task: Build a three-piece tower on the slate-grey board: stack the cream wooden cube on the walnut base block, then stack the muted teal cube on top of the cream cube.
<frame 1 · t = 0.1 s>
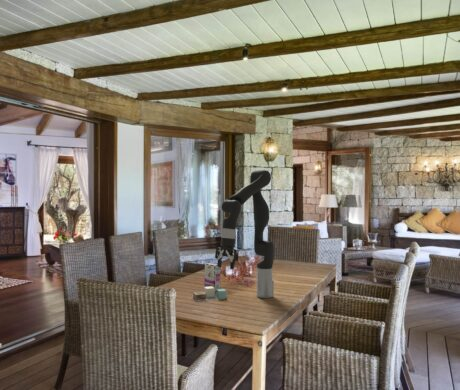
hand: (225, 268, 210), 22 cm above the table, tool pointing down, fingers open, 8 cm apart
teal cube: (221, 297, 234), resting on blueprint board
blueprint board: (208, 297, 234), on the table
candy bar box: (212, 289, 254), on the table
cream cube: (209, 295, 237), resting on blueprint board
walnut base: (199, 298, 232), resting on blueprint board
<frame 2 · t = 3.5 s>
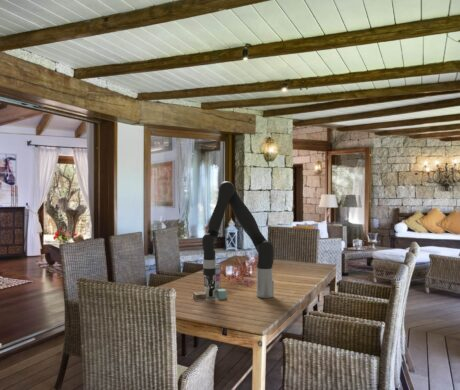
hand: (209, 295, 237), 1 cm above the table, tool pointing down, fingers closed on cream cube, 5 cm apart
cream cube: (209, 295, 237), resting on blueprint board, touching gripper
everything else where it was.
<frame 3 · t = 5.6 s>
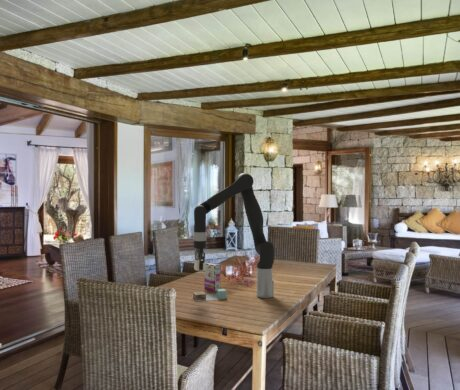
hand: (199, 268, 232), 18 cm above the table, tool pointing down, fingers closed on cream cube, 5 cm apart
cream cube: (199, 269, 232), point 17 cm above the table, touching gripper
everything else where it was.
when the fingers open (5 cm above the table, at t = 7.9 s): cream cube drops 2 cm, resting on walnut base.
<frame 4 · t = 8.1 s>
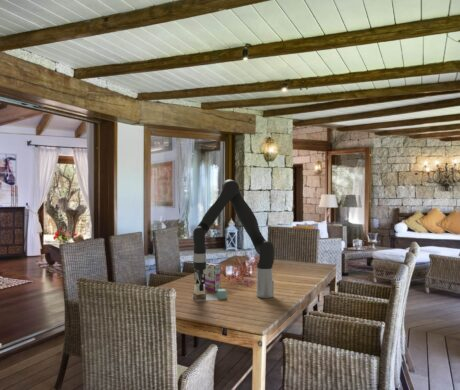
hand: (199, 289, 232), 6 cm above the table, tool pointing down, fingers open, 6 cm apart
cream cube: (199, 293, 232), point 3 cm above the table, touching walnut base
walnut base: (199, 298, 232), resting on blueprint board, touching cream cube
everything else where it was.
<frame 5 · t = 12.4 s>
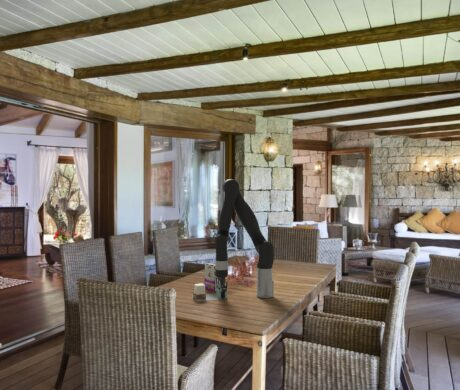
hand: (221, 297, 234), 1 cm above the table, tool pointing down, fingers closed on teal cube, 4 cm apart
teal cube: (221, 297, 234), resting on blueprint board, touching gripper
everything else where it was.
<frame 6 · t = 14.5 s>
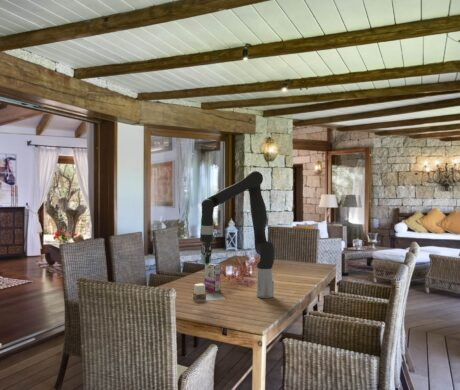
hand: (205, 262, 232), 21 cm above the table, tool pointing down, fingers closed on teal cube, 4 cm apart
teal cube: (205, 263, 232), point 21 cm above the table, touching gripper
everything else where it was.
when the fingers open (10 cm above the table, at t = 17.1 s): teal cube drops 2 cm, resting on cream cube.
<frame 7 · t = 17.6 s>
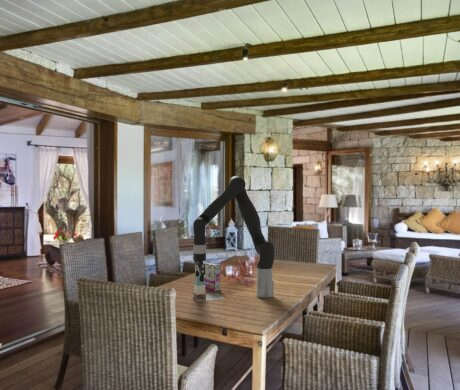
hand: (199, 280, 232), 11 cm above the table, tool pointing down, fingers open, 8 cm apart
teal cube: (199, 284, 232), point 8 cm above the table, touching cream cube
cream cube: (199, 293, 232), point 3 cm above the table, touching teal cube, walnut base
everything else where it was.
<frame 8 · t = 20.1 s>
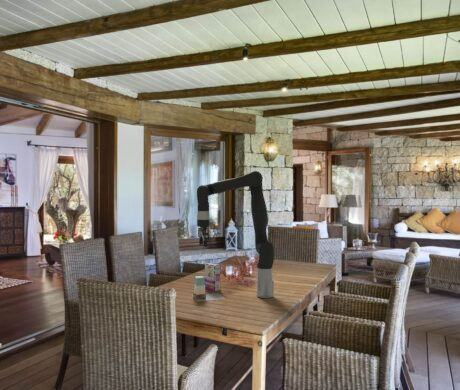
hand: (203, 245, 238), 30 cm above the table, tool pointing down, fingers open, 8 cm apart
nothing on the table moved.
at the end: cream cube 0.0 cm off-centre on the walnut base, point 3.0 cm above the walnut base's base; teal cube 0.1 cm off-centre on the cream cube, point 5.0 cm above the cream cube's base; teal cube tilted 0° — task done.
